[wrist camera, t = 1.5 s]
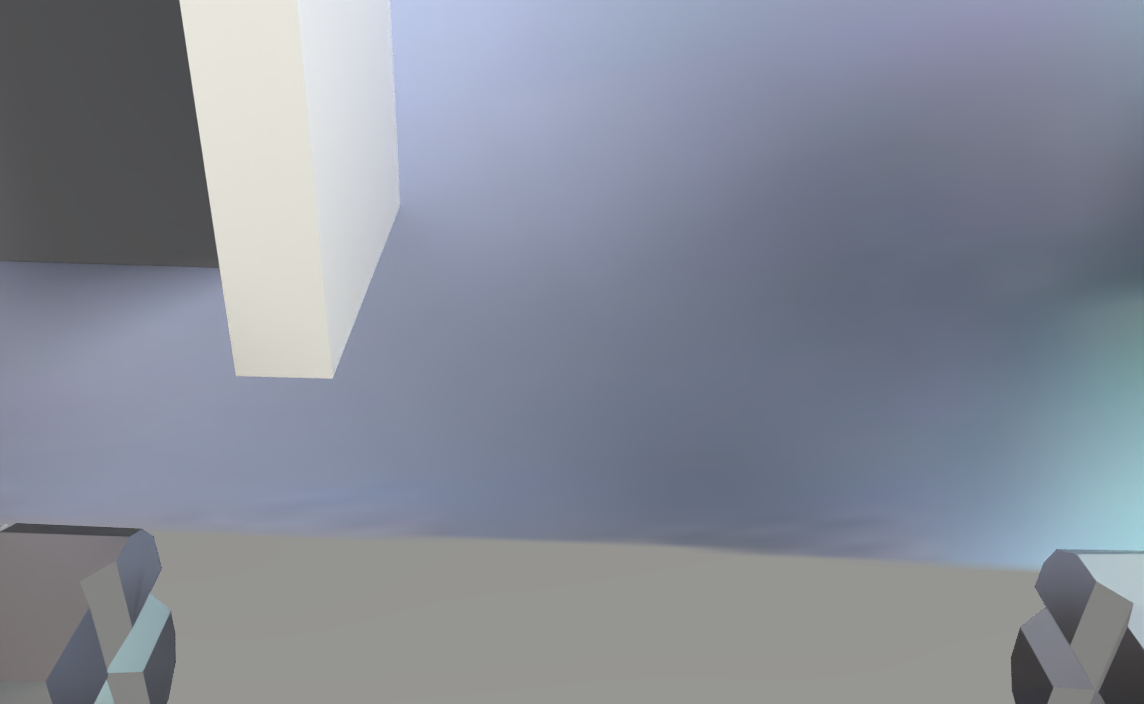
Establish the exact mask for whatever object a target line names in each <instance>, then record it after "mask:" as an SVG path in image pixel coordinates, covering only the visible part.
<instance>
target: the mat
mask: <svg viewBox="0 0 1144 704" xmlns="http://www.w3.org/2000/svg"><path fill="white" fill-rule="evenodd" d="M0 261H20V262H53V263H85V264H118V265H151V266H183V267H216V268H220V267H219V261H218V254H217V247H216V241H215V234H214V227H213V221H212V214H211V207H210V201H209V194H208V187H207V181H206V174H205V167H204V161H203V154H202V147H201V141H200V134H199V128H198V121H197V114H196V108H195V101H194V94H193V88H192V81H191V74H190V68H189V61H188V54H187V48H186V41H185V34H184V28H183V21H182V14H181V8H180V1H179V0H0Z"/></svg>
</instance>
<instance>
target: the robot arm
mask: <svg viewBox="0 0 1144 704" xmlns="http://www.w3.org/2000/svg"><path fill="white" fill-rule="evenodd" d="M161 569H162V567H161V563H160V559H159V555H158V552H157V548H156V543H155V540H154V536H152V535H151V534H149V533H148V532H146V531H145V530H143V529H134V528H112V527H89V526H67V525H44V524H22V523H16V524H14V525H10V524H0V704H167V701H168V699H169V694H170V689H171V684H172V678H173V673H174V668H175V663H176V654H175V630H174V625H173V620H172V614H171V611H170V610H169V609H168V608H167V607H166V606H165V605H164V604H163V603H162V602H160V601H159V600H158V599H157V598H156V597H155V596H154V595H153V594H151V593H150V592H151V590H152V588H153V586H154V584H155V582H156V580H157V577H158V575H159V574H160V572H161ZM1035 588H1036V590H1037V592H1038V593H1039V595H1040V597H1041V599H1042V601H1043V603H1044V605H1045V606H1046V607H1045V608H1044V609H1043V610H1042V611H1040V612H1039V613H1038V614H1036V615H1035V616H1034V617H1033V618H1031V619H1030V620H1029V621H1028V622H1026V623H1025V624H1024V625H1022V626H1021V627H1020V630H1019V633H1018V636H1017V639H1016V643H1015V646H1014V649H1013V653H1012V656H1011V677H1012V692H1013V696H1014V700H1015V704H1144V551H1132V550H1068V549H1057V550H1056V551H1055V552H1054V553H1053V554H1052V555H1051V556H1050V557H1049V558H1048V559H1047V560H1046V561H1045V562H1044V564H1043V566H1042V569H1041V572H1040V574H1039V577H1038V579H1037V582H1036V585H1035Z"/></svg>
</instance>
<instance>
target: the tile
mask: <svg viewBox="0 0 1144 704" xmlns="http://www.w3.org/2000/svg"><path fill="white" fill-rule="evenodd" d="M179 1H180V8H181V14H182V21H183V28H184V34H185V41H186V48H187V54H188V61H189V68H190V74H191V81H192V88H193V94H194V101H195V108H196V114H197V121H198V128H199V134H200V141H201V147H202V154H203V161H204V167H205V174H206V181H207V187H208V194H209V201H210V207H211V214H212V221H213V227H214V234H215V241H216V247H217V254H218V261H219V267H220V274H221V281H222V287H223V294H224V300H225V307H226V314H227V320H228V327H229V334H230V340H231V347H232V354H233V360H234V367H235V374H236V376H253V377H290V378H326V379H333V376H334V374H335V371H336V369H337V366H338V363H339V361H340V358H341V356H342V353H343V351H344V348H345V346H346V343H347V340H348V338H349V335H350V333H351V330H352V328H353V325H354V323H355V320H356V317H357V315H358V312H359V310H360V307H361V305H362V302H363V300H364V297H365V294H366V292H367V289H368V287H369V284H370V282H371V279H372V277H373V274H374V271H375V269H376V266H377V264H378V261H379V259H380V256H381V254H382V251H383V248H384V246H385V243H386V241H387V238H388V236H389V233H390V231H391V228H392V225H393V223H394V220H395V218H396V215H397V213H398V210H399V208H400V189H399V169H398V149H397V129H396V109H395V90H394V70H393V50H392V30H391V10H390V0H179Z"/></svg>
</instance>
